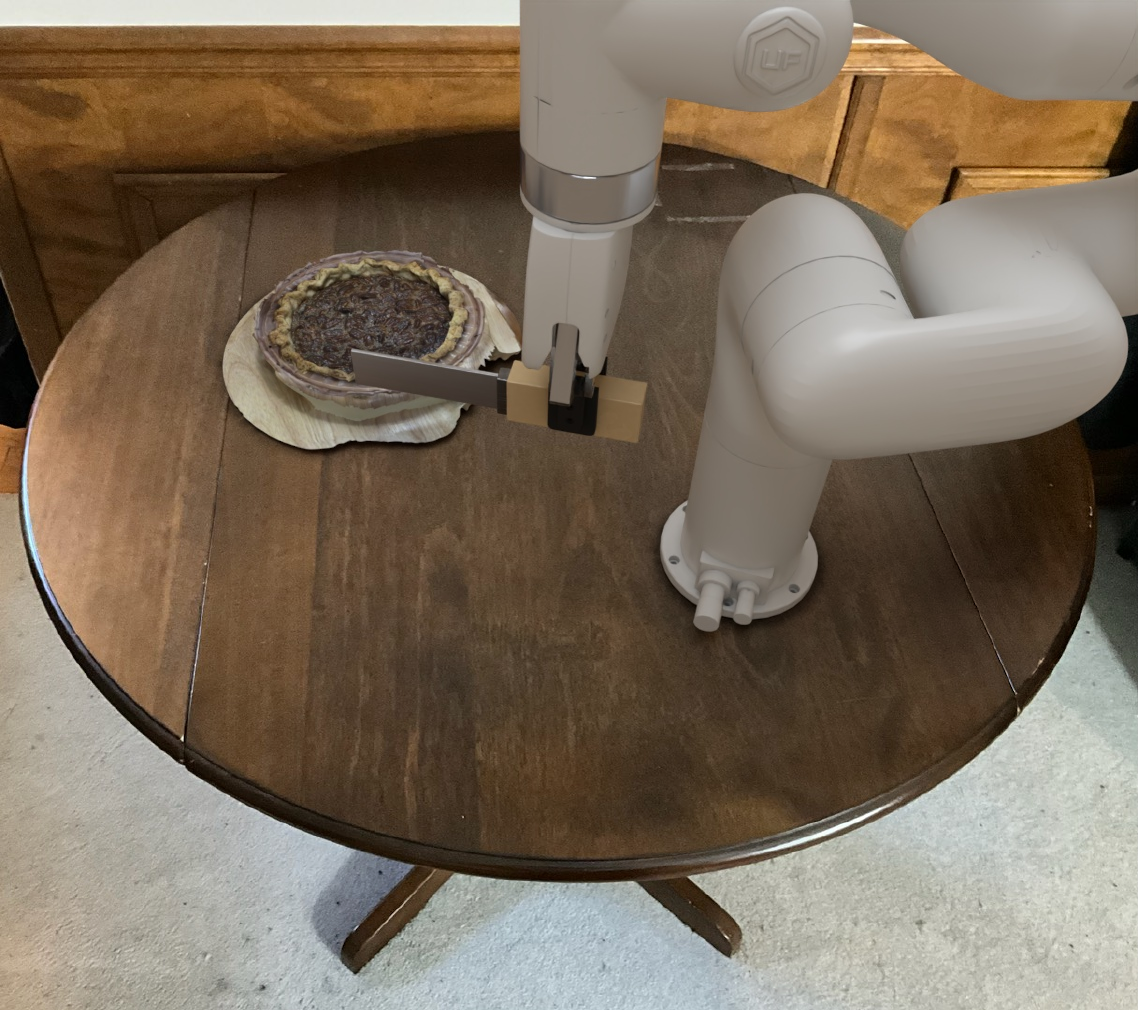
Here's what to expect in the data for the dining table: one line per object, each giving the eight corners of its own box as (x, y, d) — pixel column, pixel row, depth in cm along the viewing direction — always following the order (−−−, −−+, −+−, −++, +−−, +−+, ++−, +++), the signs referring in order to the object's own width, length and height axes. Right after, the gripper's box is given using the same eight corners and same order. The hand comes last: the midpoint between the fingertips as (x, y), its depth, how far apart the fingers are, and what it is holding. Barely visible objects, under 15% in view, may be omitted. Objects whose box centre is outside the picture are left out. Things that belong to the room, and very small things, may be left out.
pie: (197, 453, 89) (183, 412, 86) (250, 261, 107) (240, 219, 103) (523, 454, 91) (524, 413, 87) (522, 264, 109) (522, 223, 105)
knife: (642, 421, 71) (647, 382, 68) (637, 444, 69) (642, 404, 67) (361, 372, 73) (355, 332, 70) (351, 393, 71) (344, 353, 69)
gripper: (553, 89, 62) (547, 331, 76) (483, 245, 51) (492, 491, 65) (678, 106, 61) (649, 347, 75) (633, 268, 51) (609, 512, 65)
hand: (576, 413), depth 70 cm, fingers closed on knife, 2 cm apart
